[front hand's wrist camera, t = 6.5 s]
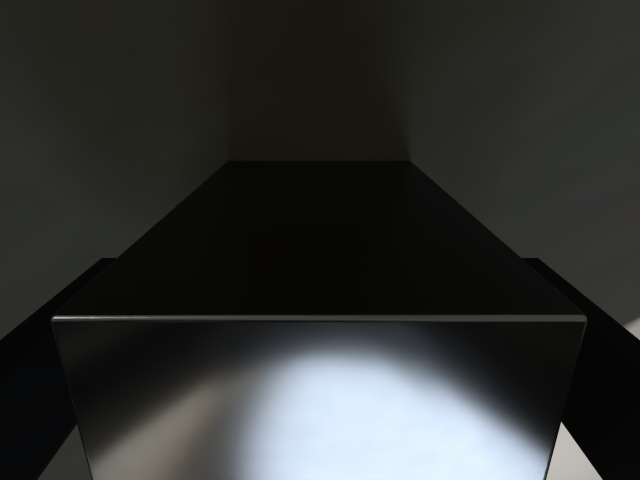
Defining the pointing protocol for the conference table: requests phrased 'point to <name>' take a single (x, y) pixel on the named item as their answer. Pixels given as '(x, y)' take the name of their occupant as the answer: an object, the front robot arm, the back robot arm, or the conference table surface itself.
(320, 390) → the block
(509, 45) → the conference table surface
